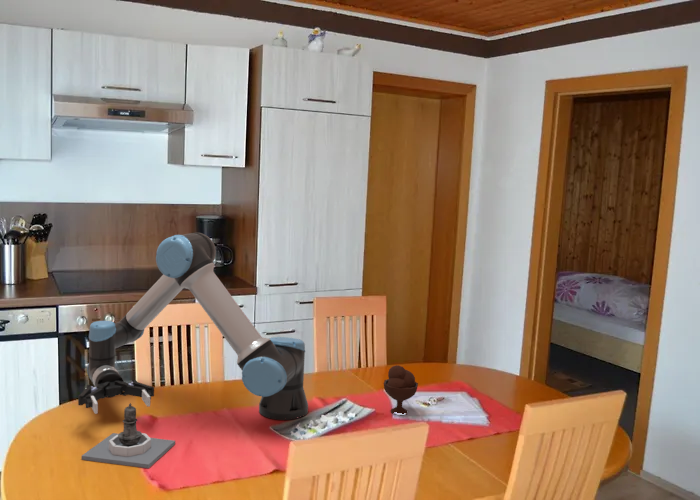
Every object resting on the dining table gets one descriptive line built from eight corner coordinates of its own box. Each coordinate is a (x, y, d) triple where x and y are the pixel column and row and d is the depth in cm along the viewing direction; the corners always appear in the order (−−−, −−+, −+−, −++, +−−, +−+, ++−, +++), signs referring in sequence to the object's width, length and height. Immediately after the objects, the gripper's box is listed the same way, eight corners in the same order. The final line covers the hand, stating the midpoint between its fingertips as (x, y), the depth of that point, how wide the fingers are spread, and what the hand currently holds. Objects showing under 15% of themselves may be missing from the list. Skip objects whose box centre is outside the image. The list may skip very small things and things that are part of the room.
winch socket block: (175, 444, 176) (175, 432, 176) (148, 468, 162) (148, 455, 161) (113, 436, 179) (113, 425, 179) (81, 459, 165) (81, 447, 164)
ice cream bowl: (393, 420, 201) (396, 373, 199) (375, 408, 211) (378, 362, 209) (423, 416, 206) (426, 369, 204) (404, 404, 215) (406, 359, 214)
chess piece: (134, 453, 167) (134, 408, 165) (113, 451, 168) (113, 405, 167) (146, 444, 173) (146, 400, 171) (125, 441, 174) (125, 398, 172)
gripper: (150, 388, 202) (169, 411, 184) (62, 399, 189) (73, 425, 171) (151, 364, 201) (169, 385, 183) (62, 374, 188) (73, 397, 170)
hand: (123, 405), depth 177 cm, fingers open, 13 cm apart
